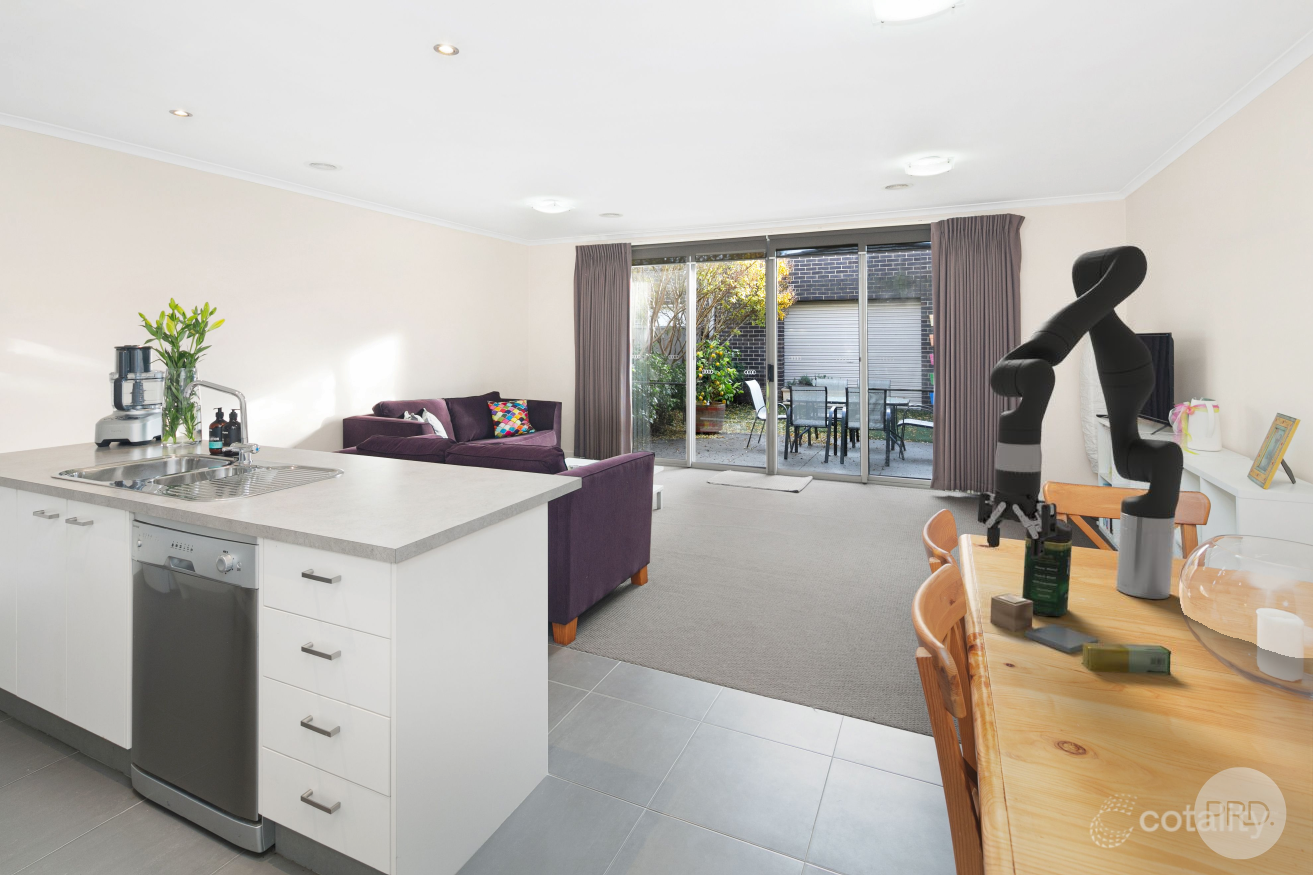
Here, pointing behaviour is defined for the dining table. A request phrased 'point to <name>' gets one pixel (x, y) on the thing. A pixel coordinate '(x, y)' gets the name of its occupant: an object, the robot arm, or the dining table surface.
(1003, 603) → the cube
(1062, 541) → the coffee jar
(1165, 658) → the medication box
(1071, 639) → the pad
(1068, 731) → the dining table surface
